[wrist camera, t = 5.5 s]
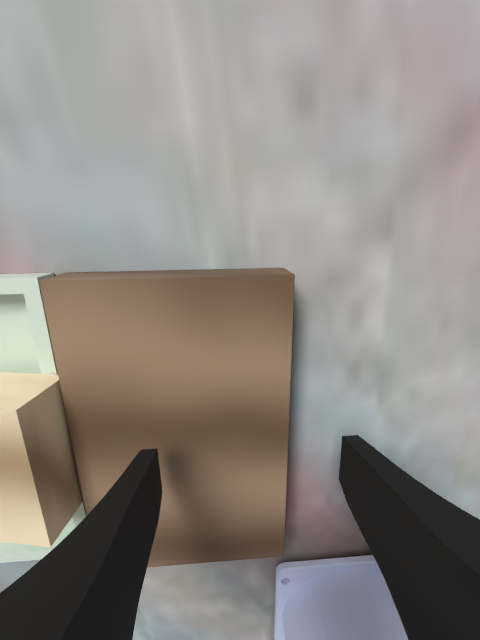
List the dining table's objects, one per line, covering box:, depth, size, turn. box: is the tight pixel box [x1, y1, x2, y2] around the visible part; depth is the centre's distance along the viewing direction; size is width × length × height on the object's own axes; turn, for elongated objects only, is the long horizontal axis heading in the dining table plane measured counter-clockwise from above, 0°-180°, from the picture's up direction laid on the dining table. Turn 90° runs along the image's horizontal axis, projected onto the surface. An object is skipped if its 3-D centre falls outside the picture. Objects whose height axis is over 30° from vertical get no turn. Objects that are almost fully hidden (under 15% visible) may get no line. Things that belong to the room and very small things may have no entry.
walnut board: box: [39, 268, 295, 567], centre depth 14 cm, size 14×9×2 cm, turn 1°
